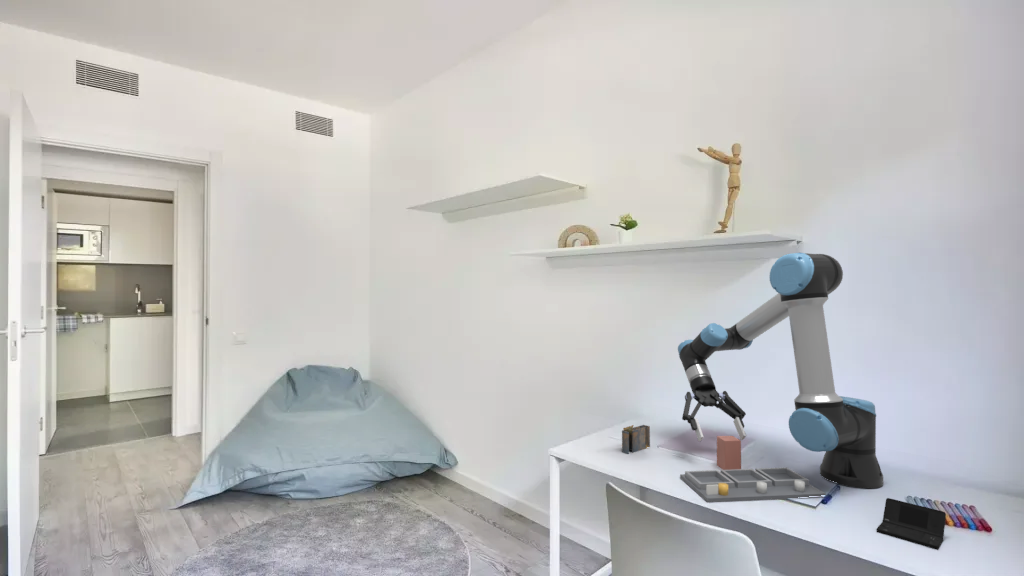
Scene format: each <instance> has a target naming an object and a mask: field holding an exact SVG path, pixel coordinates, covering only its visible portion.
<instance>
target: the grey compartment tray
mask: <svg viewBox="0 0 1024 576" xmlns="http://www.w3.org/2000/svg"><path fill="white" fill-rule="evenodd" d="M679 477H680V480H682V481H683V482H684V483H685V484H686V485H688V486H689V488H690V489H692V490H693V491H694V492H695V493H696V494H698V496H699V497H701V498H702V499H703V500H704V501H706V503H724V502H725V503H726V502H747V501H748V502H750V501H752V502H753V501H768V500H769V501H772V500H773V501H774V500H788V499H787V498H798V497H809V496H821V495H826V496H827V493H826V492H824V491H822V490H821V489H819V488H817V487H816V486H814V485H812V484H811V483H810V479H808V478H806V477H804V476H803V475H802V474H800V473H797V472H796V471H794V470H792V469H791V468H789V467H765V468H755V469H753V468H741V469H733V470H723V469H720V470H718V469H710V470H709V469H708V470H689V471H688V470H686V471H684V473H682V474H680V475H679Z"/></svg>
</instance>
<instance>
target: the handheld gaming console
mask: <svg viewBox="0 0 1024 576" xmlns="http://www.w3.org/2000/svg"><path fill="white" fill-rule="evenodd" d="M884 504H885V505H884V508H883V509H884V510H883V516H882V517H883V518H882V522H881V523H880V524H879V525H878V526H877V528H876V529H875V530H876V533H879V534H882V535H885V536H889V537H891V538H895V539H898V540H902V541H906V542H908V543H909V542H910V543H913V544H916V545H919V546H923V547H926V548H931V549H933V550H937V551H938V550H939V549H940V547H941V545H942V544H943V542H944V537H945V536H944V535H945V529H946V527H945V526H946V519H947V518H946V515H947V514H946V512H945V511H944V510H943V511H942V510H940V509H934V508H931V507H926V506H922V505H918V504H914V503H910V502H906V501H902V500H897V499H895V498H890V497H887V498H886V499H885V503H884Z"/></svg>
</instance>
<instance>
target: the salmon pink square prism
mask: <svg viewBox="0 0 1024 576" xmlns="http://www.w3.org/2000/svg"><path fill="white" fill-rule="evenodd" d="M716 466H717V467H718V468H719V469H720V470H733V469H742V440H741V439H740V438H737V437H735V436H733V435H717V436H716Z"/></svg>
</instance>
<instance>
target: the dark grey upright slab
mask: <svg viewBox="0 0 1024 576" xmlns="http://www.w3.org/2000/svg"><path fill="white" fill-rule="evenodd" d="M621 433H622V434H621V446H622V448H621V452H622V453H623V454H626V455H629V454H630V451H631V453H632V454H633V453H636V452H639V451H643V450H646V449H648V448H647V447H650V448H651V429H650V425H645V424H640V425H637V426H634V424H632V425H629V426H626V427H623V430H621Z"/></svg>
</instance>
